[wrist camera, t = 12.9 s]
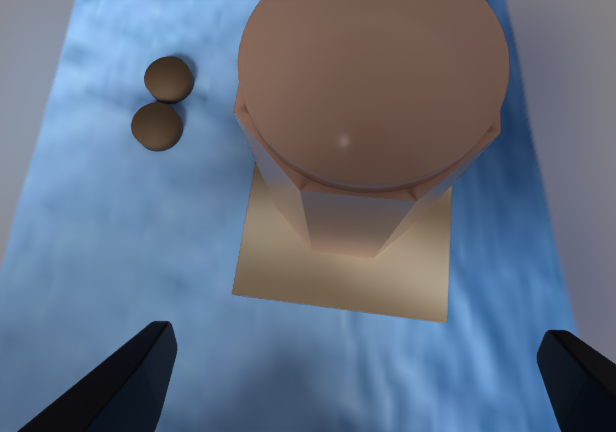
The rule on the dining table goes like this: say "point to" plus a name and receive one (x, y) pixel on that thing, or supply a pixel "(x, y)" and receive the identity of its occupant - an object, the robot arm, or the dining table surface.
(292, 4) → the salmon domed prism
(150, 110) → the ball
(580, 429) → the robot arm
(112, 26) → the dining table surface
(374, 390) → the dining table surface
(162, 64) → the ball
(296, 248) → the birch board
